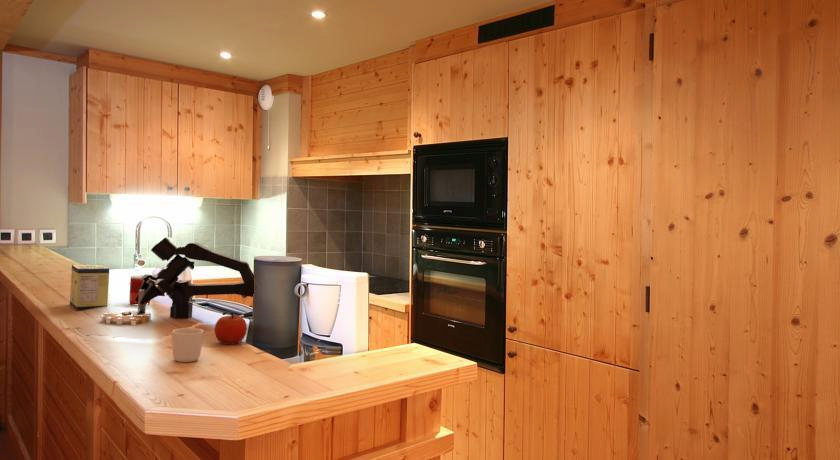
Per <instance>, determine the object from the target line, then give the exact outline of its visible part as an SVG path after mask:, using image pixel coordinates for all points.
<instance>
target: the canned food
mask: <svg viewBox="0 0 840 460" xmlns="http://www.w3.org/2000/svg"><path fill="white" fill-rule="evenodd" d="M143 276H144V275H132V276H130V284H129V300H128V301H129V304H130V305H132V304H138V302H136V301H135V299H136V297H137V294H138V292H139V290H140V287H141V284H142V281H143V280H142V279H141V278H142V277H143ZM147 303H151V300H150V301H148V302H146V304H147Z"/></svg>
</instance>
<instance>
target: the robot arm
mask: <svg viewBox="0 0 840 460" xmlns="http://www.w3.org/2000/svg"><path fill="white" fill-rule="evenodd" d="M150 251H151V252H152V253H153V254H154V255H155V256H156V257H158V259H160V260H161V261H163V262H164V261H167V262H168V263H166V265H162V266H161V267H160V270H159V271H158V272H157V273H156V274H154V273H153V275H151V274H148V273H146V274H143V275H142V276H143V277H142V278H141V279H142V280H143V281H142V284H141V287H140V290H147V291H146V292H145V294H144V296H143V297H142V299H141V301H140V304H142V305H143V304H145V303H146V302H148V301H150V302H151V300H153V299H155V298H157V297H166V296H167V297H168V298H169V299H170V300H171V301H172V302H171V306H170V309H169V311H170V312H169V317H170V318H173V319H183V320H184V319H187V320H188V319H191V318H192V317H193V305H194V304H193V302H192V300H193V298H194V297H195V296H216V295H217V296H218V295H220V296H221V295H223V296H224V295H238V296H243V297H250V298H254V297H253V294H254V276H255V274H254V272H253V271H252V269H251V267H250V264H249V263H248V262H247V261H242V260H241V259H237V258H234V257H230V256H228V255H225V254H222V253H219V252H215V251H213V250H212V249H209V248H208V247H206V246H204V245H203V244H201V243H199V242H195V241H193V242H189V243H187V244H186V245H185V246H178V247H177V246H176V245H175V244H174V243H172V241H170V238H168V237H164V238H163V239H162V240H160V241H159V242H157V243H156V244H155V245H154V246H153V247H152V248H151V249H150ZM181 255H182V256H181ZM191 260H194V261H191ZM195 261H201V262H202V261H203V262H210V263H213V264H215V265H218V266H221V267H224V268H228V269H230V270H232V271H233V270H234V271H235V272H238V273H239V274H240V276H241V279H242V281H240V282H236V283H235V282H234V283H233V282H232V283H208V284H205V283H203V284H196V283H192V279H188V280H187V279H186V280H183V279H179V276H181V274H183V272H184V271H186V269H188V268H189V269H190V270H191V271H193V270H194V269H195ZM138 297H139V292H138V294H137V297H136V299H135V301H136V302H138Z"/></svg>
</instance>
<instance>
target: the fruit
mask: <svg viewBox="0 0 840 460" xmlns="http://www.w3.org/2000/svg"><path fill="white" fill-rule="evenodd" d="M227 314H228V315H227ZM225 315H226V316H225ZM247 326H248V324H247V322H246V320H245V319H244V318H243V316H239V315H235V312H231V311H230V310H227V311H223V312H222V317H219V318H218V319H217V321H216V323H215V325H214V336H215V337H216V339H217V341H219V342H220V343H221V342H222V343H221V344H224V343H227V344H226V345H233V344H232V343H236V344H239V343H240V342H241V341H242V340H244V338H245V337H246V334H247V330H248V327H247Z"/></svg>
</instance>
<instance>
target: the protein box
mask: <svg viewBox="0 0 840 460" xmlns="http://www.w3.org/2000/svg"><path fill="white" fill-rule="evenodd" d="M70 273H71V274H70V275H71V277H70V291H69V292H70V295H69V305H70V306H71V307H72V308H73V309H74V310H75V311H88V310H92V309H95V308H106V307H108V303H109V285H110V283H109V282H110V281H109V280H110V268H108V267H106V266H104V265H102V264H71V272H70Z"/></svg>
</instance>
